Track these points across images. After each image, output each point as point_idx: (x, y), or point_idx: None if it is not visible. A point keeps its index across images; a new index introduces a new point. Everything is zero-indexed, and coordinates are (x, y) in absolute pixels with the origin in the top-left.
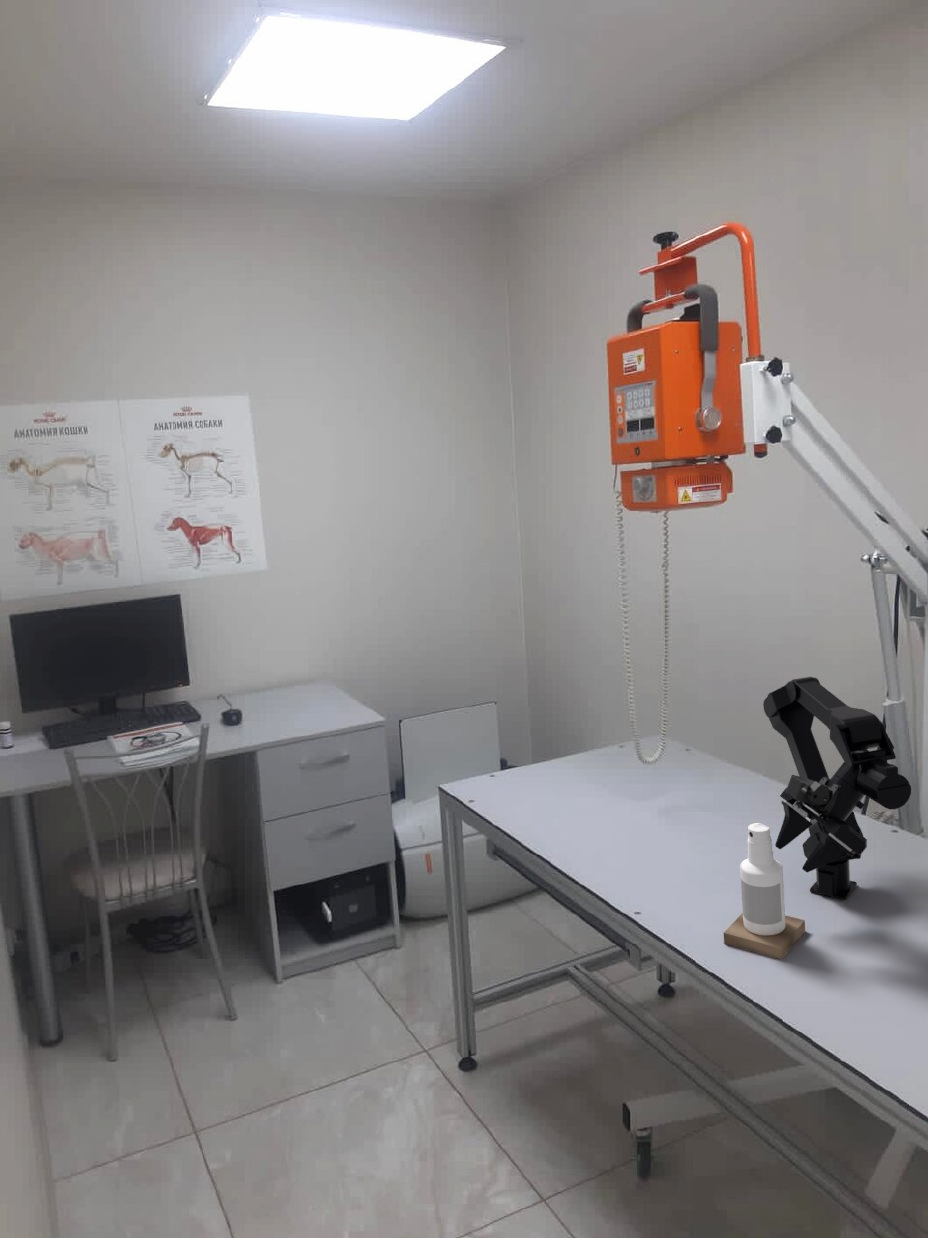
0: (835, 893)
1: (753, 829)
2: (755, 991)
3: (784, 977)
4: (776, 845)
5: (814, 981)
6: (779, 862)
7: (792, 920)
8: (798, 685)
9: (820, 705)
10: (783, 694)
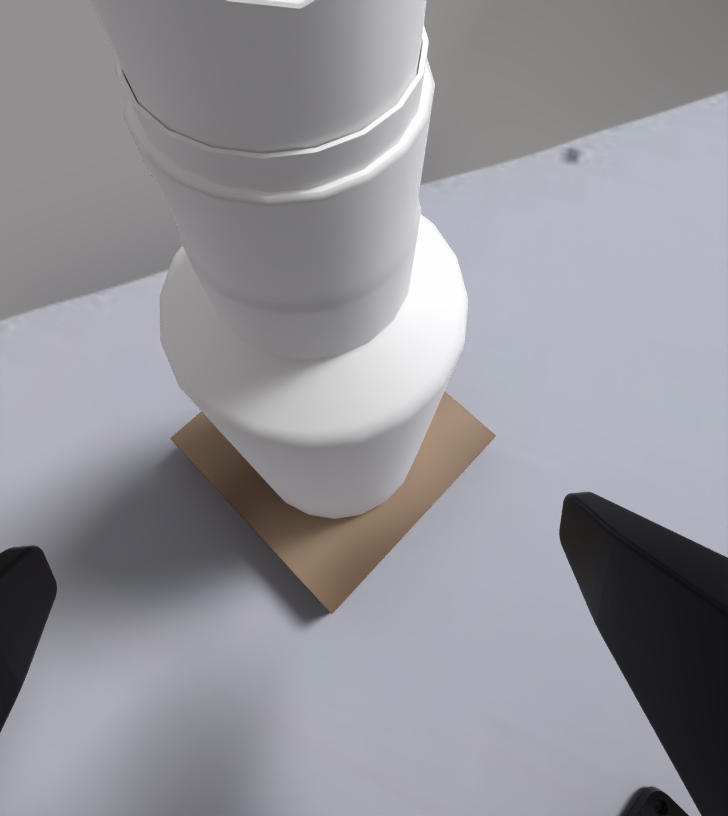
0: None
1: None
2: (65, 319)
3: (91, 421)
4: (572, 497)
5: (27, 503)
6: (296, 428)
7: (345, 561)
8: None
9: None
10: None
